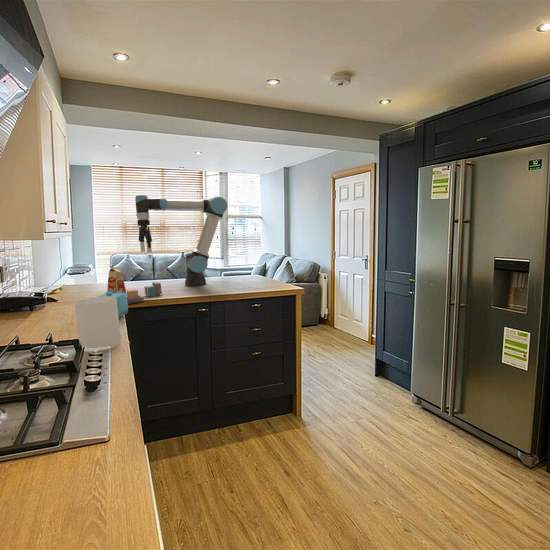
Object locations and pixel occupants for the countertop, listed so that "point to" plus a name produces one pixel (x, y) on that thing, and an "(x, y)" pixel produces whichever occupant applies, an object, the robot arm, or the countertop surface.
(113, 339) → the container
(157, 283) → the teal brown block
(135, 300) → the tray
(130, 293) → the stub
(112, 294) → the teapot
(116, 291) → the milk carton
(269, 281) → the countertop surface
